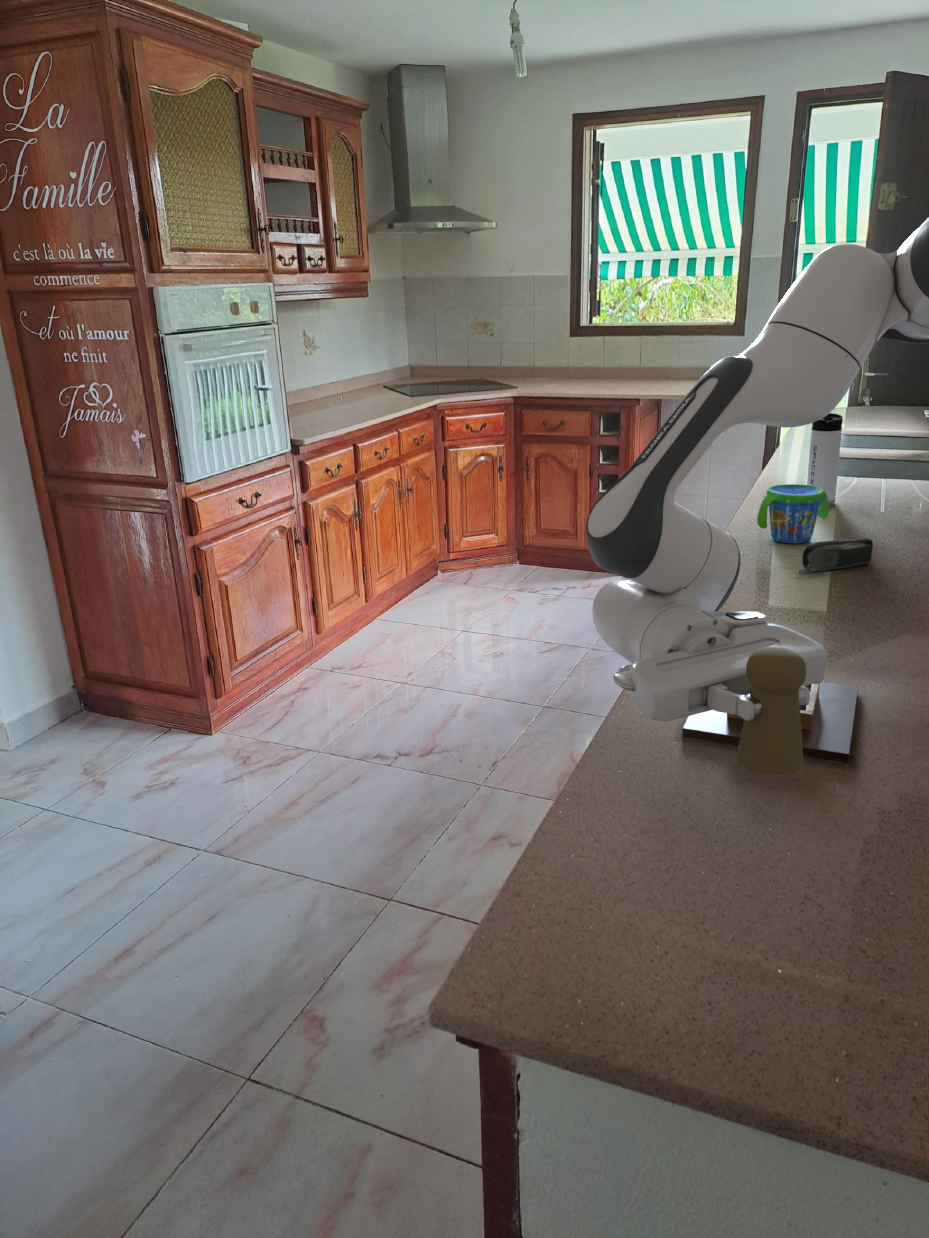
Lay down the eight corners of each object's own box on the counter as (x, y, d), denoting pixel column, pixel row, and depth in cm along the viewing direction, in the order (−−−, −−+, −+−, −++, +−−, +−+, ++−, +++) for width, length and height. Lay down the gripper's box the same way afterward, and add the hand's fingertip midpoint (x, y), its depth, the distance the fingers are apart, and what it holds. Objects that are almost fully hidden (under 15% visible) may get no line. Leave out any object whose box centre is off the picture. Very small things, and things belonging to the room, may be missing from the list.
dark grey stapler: (865, 534, 158) (794, 543, 154) (877, 539, 156) (805, 548, 152) (862, 561, 160) (792, 571, 156) (874, 565, 157) (803, 575, 153)
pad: (711, 675, 118) (712, 654, 117) (857, 693, 111) (860, 672, 110) (682, 735, 103) (682, 712, 102) (848, 762, 96) (851, 738, 94)
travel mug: (831, 499, 202) (839, 411, 195) (837, 506, 196) (846, 415, 189) (802, 499, 204) (809, 412, 197) (808, 506, 198) (815, 416, 191)
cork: (797, 780, 80) (806, 670, 76) (729, 767, 82) (735, 659, 78) (808, 750, 84) (818, 644, 80) (744, 738, 87) (750, 635, 83)
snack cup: (809, 528, 181) (813, 480, 177) (842, 541, 171) (847, 490, 168) (741, 538, 178) (744, 488, 174) (771, 551, 168) (775, 499, 164)
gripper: (604, 644, 88) (685, 698, 76) (771, 608, 95) (870, 652, 83) (604, 701, 90) (683, 762, 78) (767, 661, 97) (863, 712, 85)
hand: (780, 705), depth 80 cm, fingers closed on cork, 4 cm apart
